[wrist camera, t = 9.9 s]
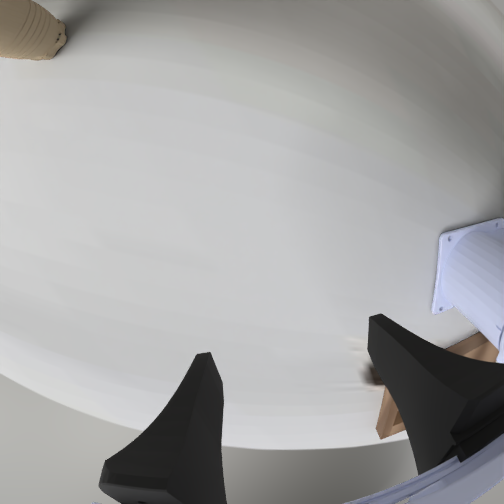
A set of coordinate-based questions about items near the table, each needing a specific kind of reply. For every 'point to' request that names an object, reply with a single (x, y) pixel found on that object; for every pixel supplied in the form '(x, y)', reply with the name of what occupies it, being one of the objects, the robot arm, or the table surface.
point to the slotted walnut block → (469, 348)
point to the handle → (29, 31)
